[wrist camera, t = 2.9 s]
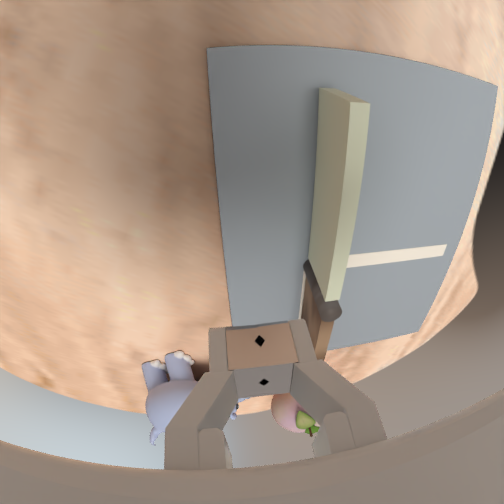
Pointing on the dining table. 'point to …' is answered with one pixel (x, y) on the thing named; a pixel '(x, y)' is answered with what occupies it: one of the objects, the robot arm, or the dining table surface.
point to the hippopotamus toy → (169, 389)
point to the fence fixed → (318, 313)
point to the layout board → (372, 187)
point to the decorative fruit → (292, 415)
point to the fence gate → (336, 185)
